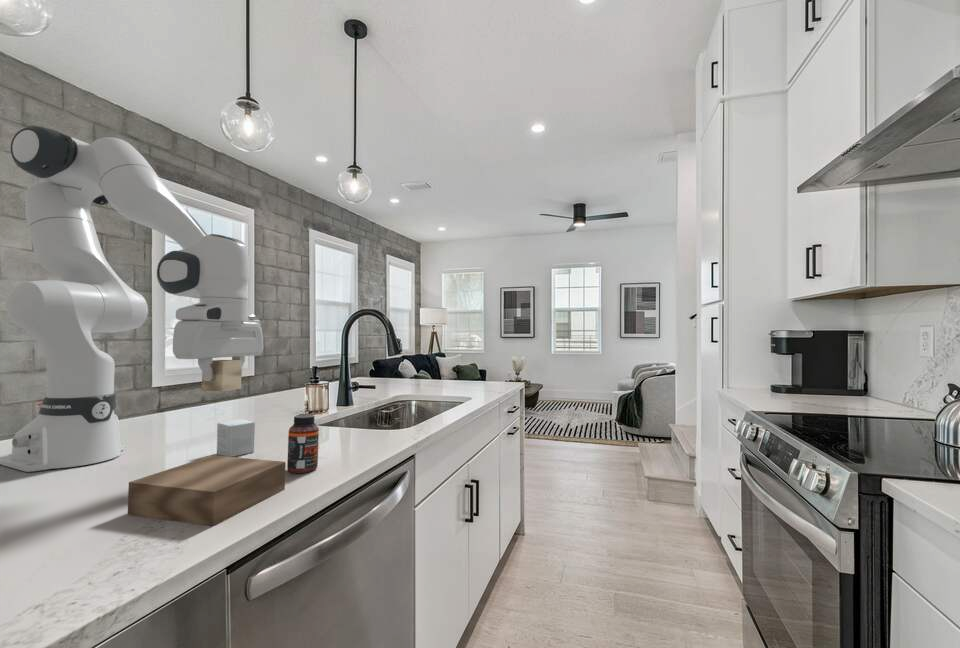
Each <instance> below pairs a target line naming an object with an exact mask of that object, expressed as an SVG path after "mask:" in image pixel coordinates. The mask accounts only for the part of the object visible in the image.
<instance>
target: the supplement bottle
mask: <svg viewBox="0 0 960 648" xmlns="http://www.w3.org/2000/svg"><path fill="white" fill-rule="evenodd" d="M315 421H316V420H315V415H314V414H308V413H307V414H305V413H304V414H303V413H302V414H297V415H294V417H293V424H292V425H291V426H290V427H289V429H288V437H287V438H288V439H287V441H288V442H287V443H288V444H287V460H286V461H287V465H286V467H287V471H288V472H289V473H293V474H306V473H311V472H313V471H315V470H317V468H318V464H319V460H318V459H319V437H320V436H319V435H320V433H319V432H320V431H319V430H320V428H319V426H318V425H317V424H316V422H315Z"/></svg>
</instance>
